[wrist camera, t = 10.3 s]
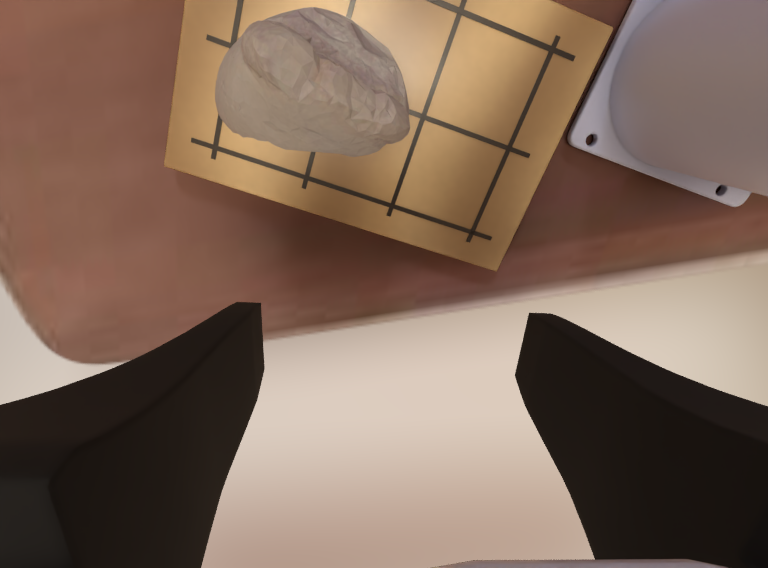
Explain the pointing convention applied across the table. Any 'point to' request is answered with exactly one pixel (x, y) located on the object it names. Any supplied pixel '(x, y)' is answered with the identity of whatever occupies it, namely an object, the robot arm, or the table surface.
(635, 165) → the robot arm
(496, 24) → the grid board
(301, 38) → the fossil
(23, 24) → the table surface
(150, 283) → the table surface
